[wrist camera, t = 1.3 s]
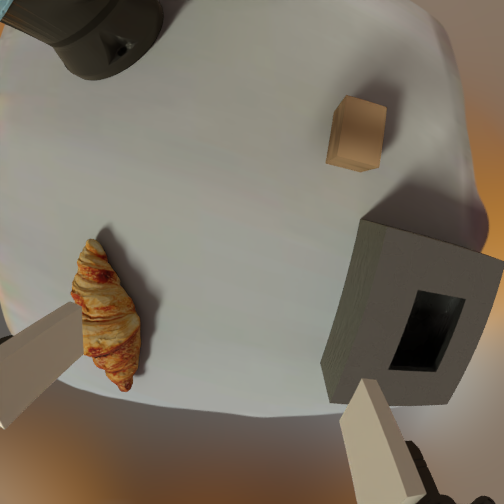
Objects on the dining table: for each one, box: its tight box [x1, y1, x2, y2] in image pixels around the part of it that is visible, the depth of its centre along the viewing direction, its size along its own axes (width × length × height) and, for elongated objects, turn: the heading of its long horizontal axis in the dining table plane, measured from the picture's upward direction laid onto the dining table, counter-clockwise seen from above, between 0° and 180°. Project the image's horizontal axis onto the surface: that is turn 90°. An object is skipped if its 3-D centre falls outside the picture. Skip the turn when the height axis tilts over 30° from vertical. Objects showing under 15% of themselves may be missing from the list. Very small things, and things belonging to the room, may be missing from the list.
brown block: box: [326, 95, 387, 172], centre depth 26 cm, size 6×4×6 cm, turn 170°
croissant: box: [71, 239, 141, 392], centre depth 32 cm, size 21×10×8 cm, turn 7°
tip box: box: [320, 219, 504, 406], centre depth 28 cm, size 18×16×8 cm
